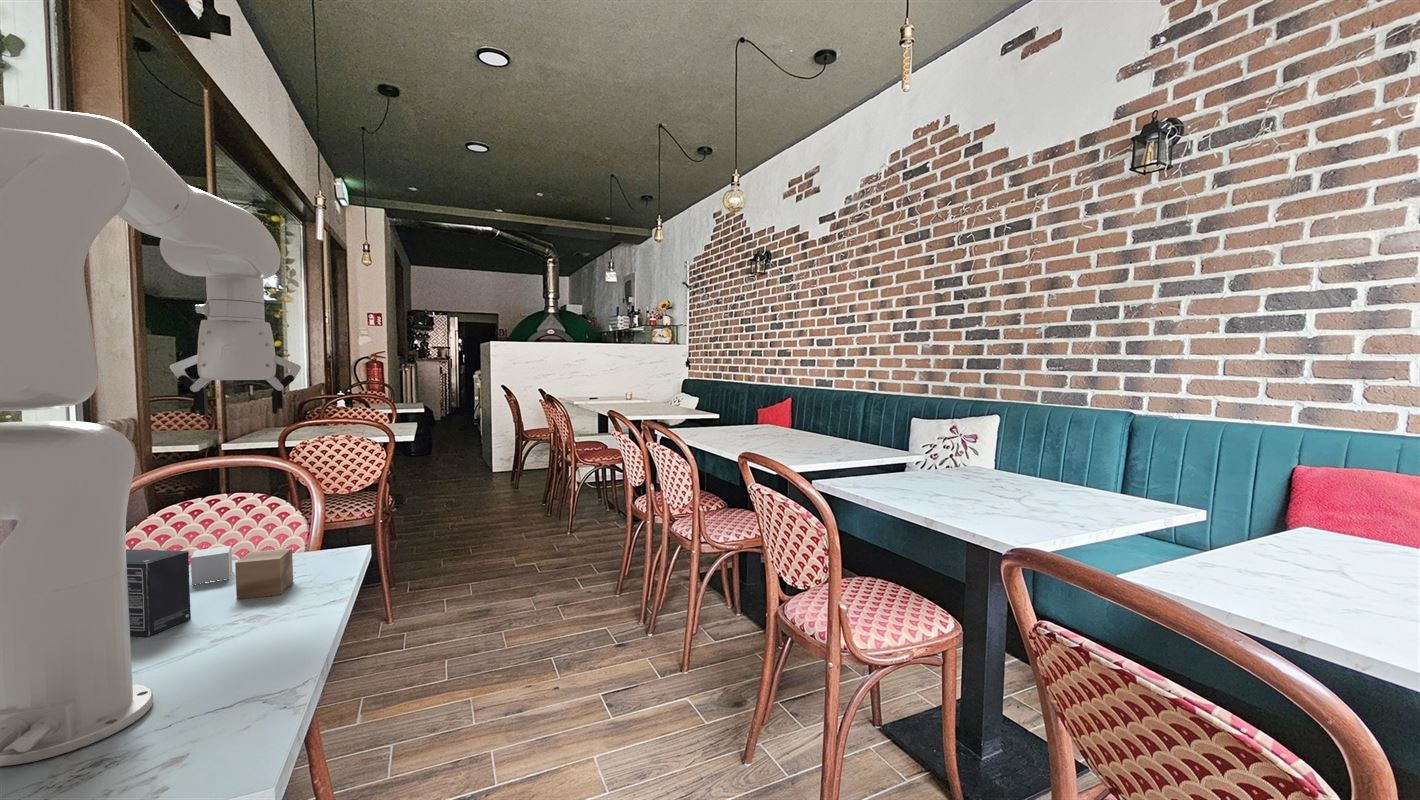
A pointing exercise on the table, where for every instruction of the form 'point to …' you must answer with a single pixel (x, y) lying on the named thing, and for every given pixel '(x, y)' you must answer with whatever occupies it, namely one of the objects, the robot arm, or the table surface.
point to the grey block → (211, 564)
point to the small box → (157, 590)
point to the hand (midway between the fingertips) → (240, 414)
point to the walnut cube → (264, 573)
